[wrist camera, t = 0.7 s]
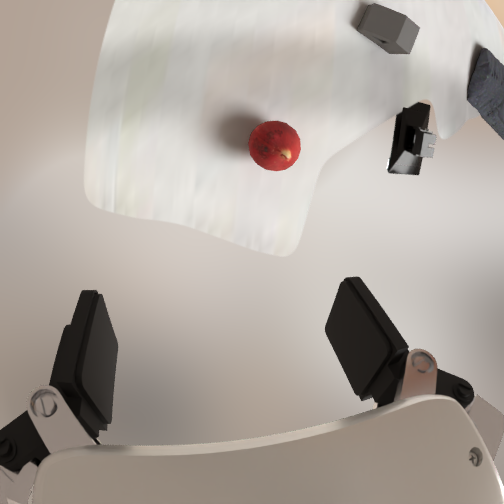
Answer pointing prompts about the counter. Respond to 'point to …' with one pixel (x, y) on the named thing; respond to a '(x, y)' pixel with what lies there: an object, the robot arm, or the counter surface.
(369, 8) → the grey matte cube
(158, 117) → the counter surface
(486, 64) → the dark grey rough slab
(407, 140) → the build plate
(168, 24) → the counter surface
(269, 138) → the red oval fruit
